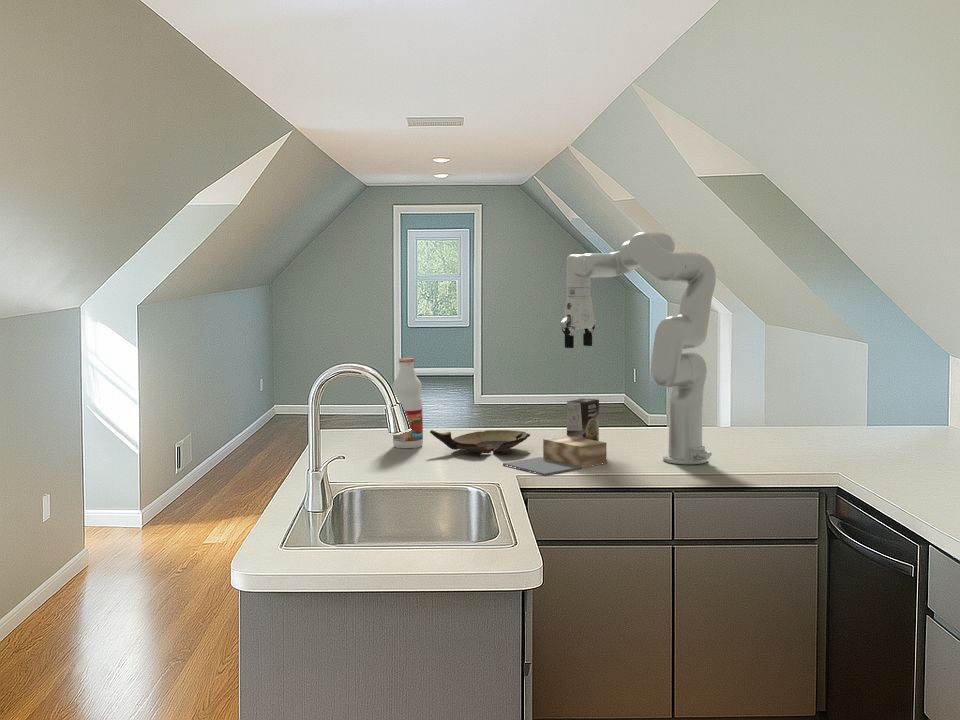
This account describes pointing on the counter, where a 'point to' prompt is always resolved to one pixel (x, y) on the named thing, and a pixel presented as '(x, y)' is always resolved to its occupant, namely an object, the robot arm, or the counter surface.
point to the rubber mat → (543, 466)
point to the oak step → (575, 450)
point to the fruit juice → (409, 404)
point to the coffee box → (583, 418)
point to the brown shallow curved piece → (483, 440)
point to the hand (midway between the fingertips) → (578, 346)
